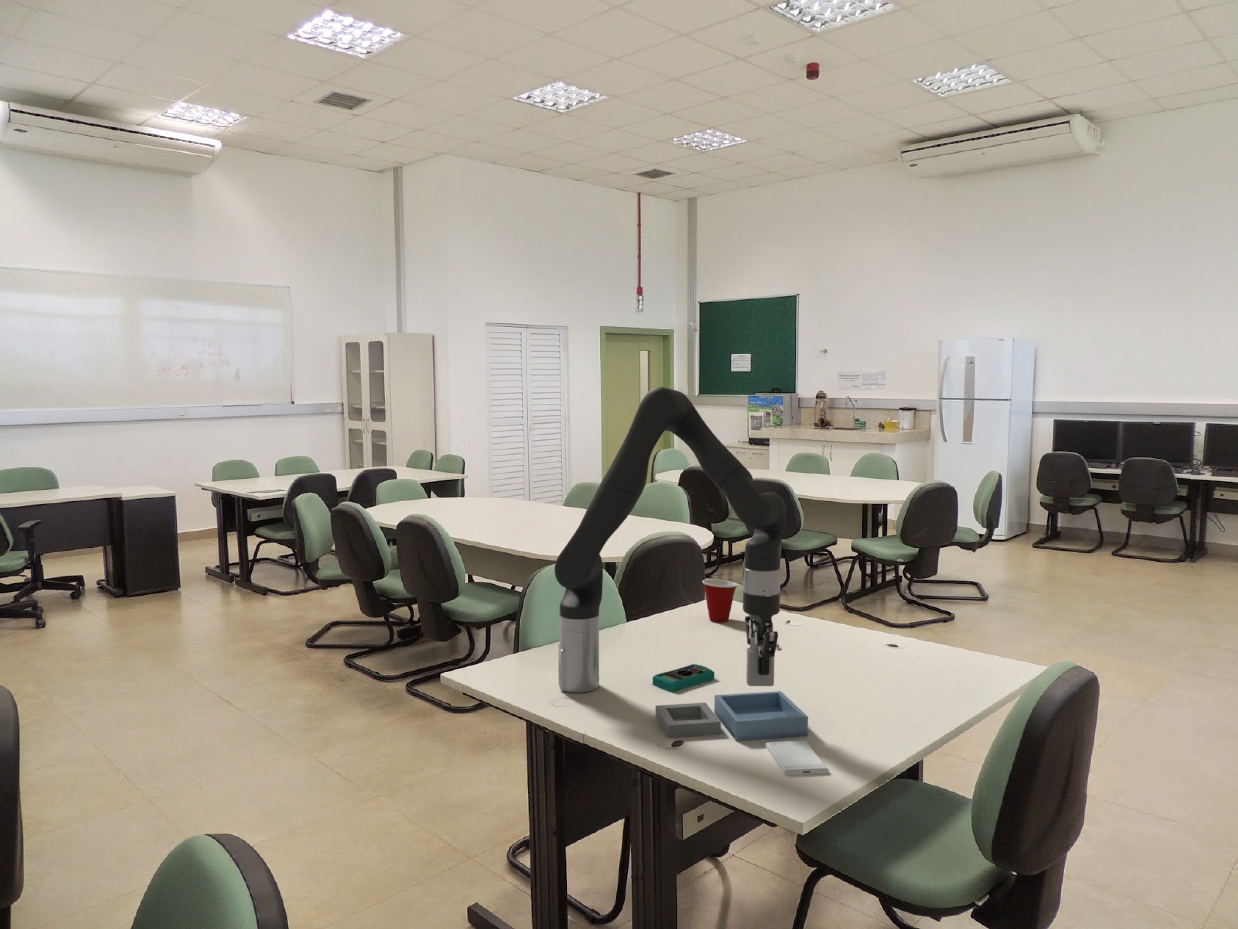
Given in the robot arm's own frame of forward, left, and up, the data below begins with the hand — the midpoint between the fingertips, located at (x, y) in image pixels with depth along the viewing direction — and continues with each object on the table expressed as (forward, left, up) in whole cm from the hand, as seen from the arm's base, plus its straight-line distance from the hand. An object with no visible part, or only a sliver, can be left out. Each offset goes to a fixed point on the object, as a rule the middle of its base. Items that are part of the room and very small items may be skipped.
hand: (760, 671), depth 176 cm
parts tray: (0, 0, -11) cm, 11 cm away
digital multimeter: (-9, +28, -12) cm, 32 cm away
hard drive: (+1, -18, -12) cm, 22 cm away
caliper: (+22, +59, -12) cm, 64 cm away
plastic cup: (+16, +81, -12) cm, 83 cm away
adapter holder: (-15, +2, -11) cm, 19 cm away
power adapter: (0, 0, -3) cm, 3 cm away
